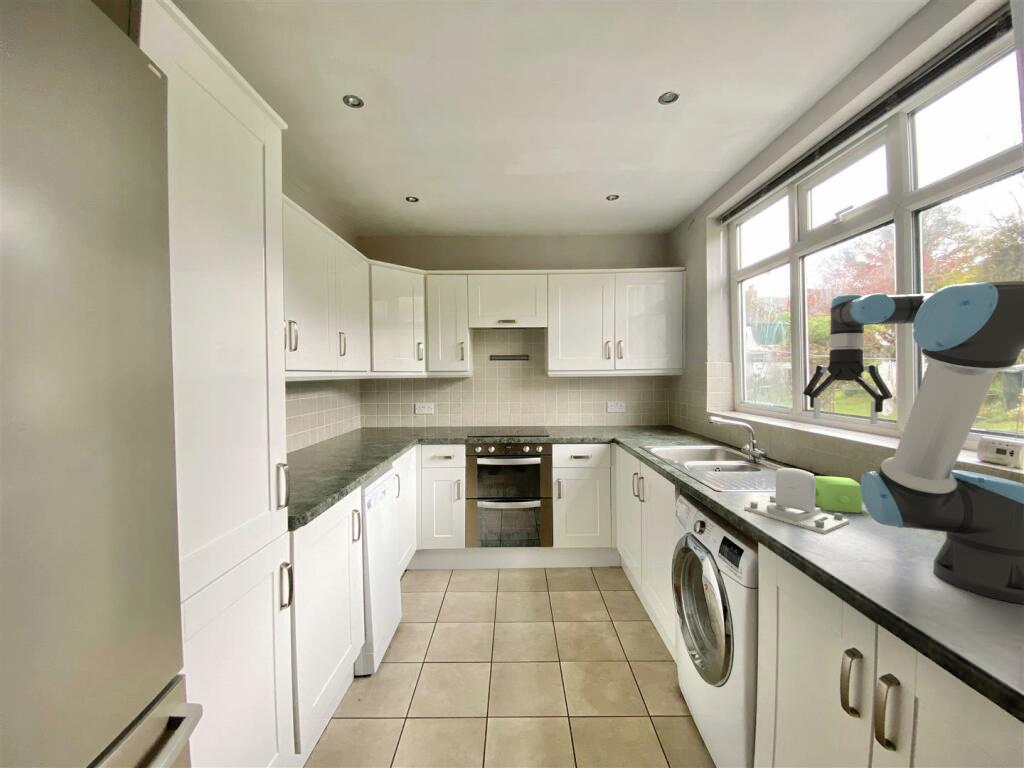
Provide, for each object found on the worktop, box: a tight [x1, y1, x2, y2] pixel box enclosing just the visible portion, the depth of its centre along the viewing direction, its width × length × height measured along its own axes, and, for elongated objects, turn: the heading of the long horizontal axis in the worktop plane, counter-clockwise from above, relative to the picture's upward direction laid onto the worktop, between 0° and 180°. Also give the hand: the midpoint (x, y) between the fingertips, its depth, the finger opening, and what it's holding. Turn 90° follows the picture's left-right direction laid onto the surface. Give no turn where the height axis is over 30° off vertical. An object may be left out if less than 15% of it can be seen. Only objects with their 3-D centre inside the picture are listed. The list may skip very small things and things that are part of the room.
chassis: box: [743, 496, 850, 535], centre depth 122 cm, size 22×16×2 cm
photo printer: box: [775, 467, 816, 513], centre depth 122 cm, size 10×4×12 cm, turn 39°
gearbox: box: [814, 475, 864, 513], centre depth 130 cm, size 18×10×10 cm, turn 72°
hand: (843, 421), depth 115 cm, fingers open, 13 cm apart
